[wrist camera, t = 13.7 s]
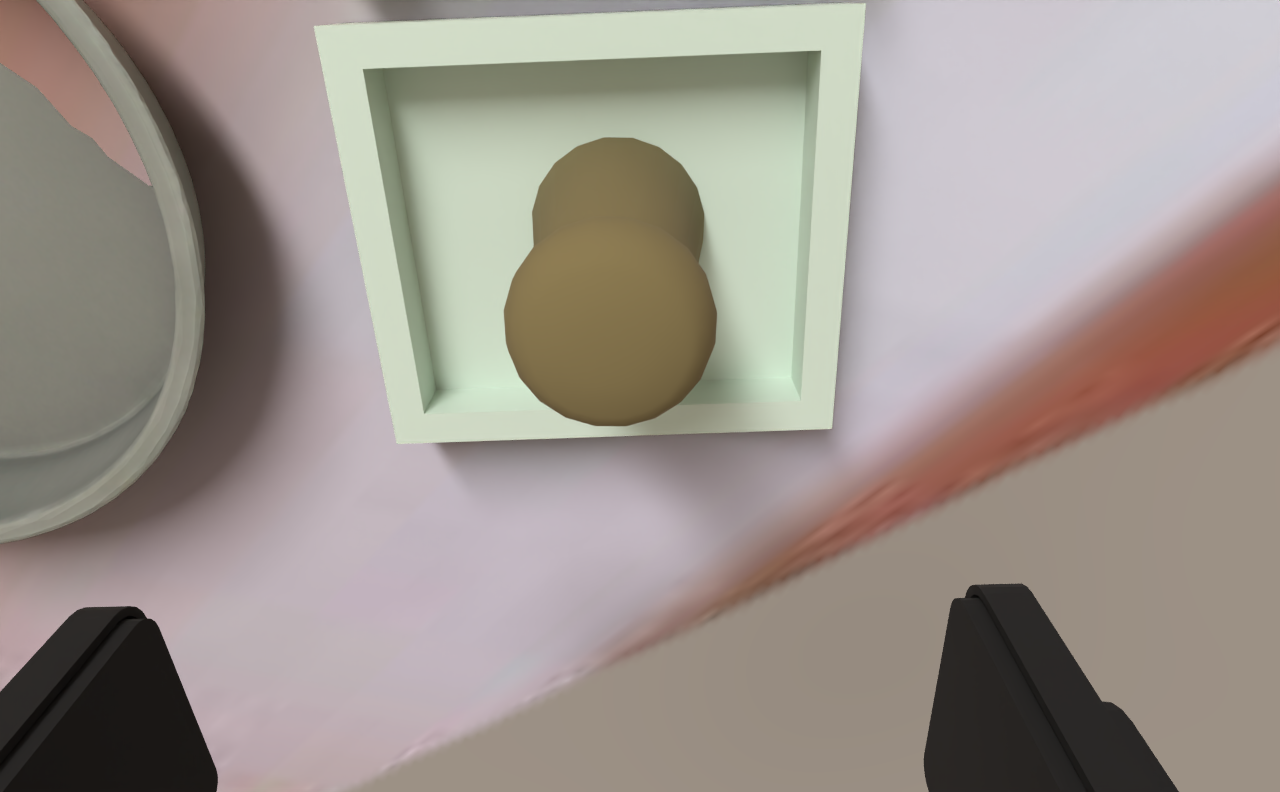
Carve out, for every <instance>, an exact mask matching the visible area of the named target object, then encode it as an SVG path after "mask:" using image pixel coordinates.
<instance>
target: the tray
mask: <svg viewBox="0 0 1280 792" xmlns="http://www.w3.org/2000/svg"><path fill="white" fill-rule="evenodd" d="M865 9H866V3H819V4H795V5H771V6H746V7H722V8H698V9H673V10H649V11H625V12H600V13H576V14H552V15H528V16H503V17H479V18H455V19H430V20H406V21H382V22H358V23H341V24H331V25H321V26H314V30H315V35H316V40H317V46H318V51H319V56H320V61H321V66H322V71H323V76H324V81H325V86H326V91H327V96H328V101H329V106H330V111H331V116H332V121H333V126H334V131H335V136H336V141H337V146H338V151H339V156H340V161H341V166H342V171H343V176H344V181H345V186H346V191H347V196H348V201H349V206H350V211H351V216H352V221H353V226H354V231H355V236H356V241H357V247H358V252H359V257H360V262H361V267H362V272H363V277H364V282H365V287H366V292H367V297H368V302H369V307H370V312H371V317H372V322H373V327H374V332H375V337H376V342H377V347H378V352H379V357H380V362H381V367H382V372H383V377H384V382H385V387H386V392H387V397H388V402H389V407H390V412H391V417H392V422H393V427H394V432H395V437H396V442H397V444H410V443H439V442H468V441H497V440H526V439H555V438H584V437H613V436H642V435H671V434H700V433H729V432H758V431H787V430H816V429H832V422H833V409H834V397H835V384H836V372H837V359H838V347H839V334H840V322H841V309H842V297H843V284H844V272H845V259H846V247H847V234H848V222H849V209H850V197H851V184H852V172H853V159H854V147H855V134H856V121H857V109H858V96H859V84H860V71H861V59H862V46H863V34H864V21H865ZM604 137H616V138H635V139H638V140H641V141H643V142H646V143H649V144H652V145H655V146H658V147H660V148H661V149H662V150H664V151H665V152H666V153H668V154H669V155H670V156H672V157H673V158H674V159H675V160H677V161H678V162H679V163H681V164H682V166H683V167H684V169H685V170H686V172H687V173H688V175H689V176H690V178H691V179H692V181H693V182H694V184H695V185H696V187H697V189H698V192H699V196H700V200H701V203H702V207H703V210H704V233H703V244H702V249H701V253H700V258H699V265H700V266H701V267H702V269H703V270H704V272H705V273H706V275H707V279H708V282H709V285H710V289H711V292H712V296H713V299H714V303H715V306H716V310H717V325H716V342H715V346H714V348H713V351H712V353H711V356H710V358H709V361H708V363H707V365H706V368H705V370H704V373H703V375H702V378H701V380H700V381H699V382H698V383H697V384H696V385H695V387H694V388H693V389H692V390H691V391H690V392H689V394H688V395H687V396H686V397H685V398H684V399H683V401H682V402H681V403H679V404H677V405H676V406H674V407H673V408H671V409H669V410H668V411H666V412H665V413H663V414H661V415H660V416H658V417H657V418H654V419H651V420H647V421H644V422H640V423H636V424H633V425H629V426H593V425H589V424H586V423H582V422H579V421H576V420H572V419H569V418H565V417H564V416H562V415H561V414H559V413H557V412H556V411H554V410H553V409H551V408H550V407H548V406H546V405H545V404H543V403H542V402H540V401H539V400H538V399H537V398H536V397H535V395H534V394H533V393H532V392H531V391H530V390H529V388H528V387H527V386H526V385H525V384H524V383H523V381H522V380H521V379H520V378H519V375H518V373H517V371H516V368H515V366H514V364H513V361H512V359H511V356H510V354H509V352H508V349H507V345H506V339H505V324H504V307H505V304H506V300H507V296H508V293H509V289H510V286H511V282H512V279H513V277H514V275H515V273H516V271H517V270H518V268H519V267H520V266H521V264H522V263H523V261H524V260H525V258H526V257H527V256H528V254H529V253H530V251H531V250H532V248H533V247H534V243H533V222H532V210H533V207H534V203H535V199H536V196H537V192H538V189H539V185H540V184H541V183H542V181H543V180H544V178H545V177H546V175H547V174H548V172H549V171H550V169H551V168H552V166H553V165H554V163H555V162H557V161H558V160H559V159H561V158H562V157H563V156H565V155H566V154H567V153H569V152H570V151H571V150H573V149H574V148H575V147H577V146H579V145H582V144H585V143H588V142H591V141H594V140H597V139H601V138H604Z"/></svg>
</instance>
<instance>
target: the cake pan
mask: <svg viewBox="0 0 1280 792" xmlns="http://www.w3.org/2000/svg"><path fill="white" fill-rule="evenodd" d="M37 2H38V3H39V4H40V5H41V6H42V7H43V8H44V9H45V11H46V12H47V13H48V14H49V15H50V16H51V17H52V18H53V20H54V21H55V22H56V23H57V25H58V26H59V27H60V29H61V30H62V31H63V32H64V34H65V35H66V36H67V37H68V39H69V40H70V41H71V43H72V44H73V45H74V46H75V48H76V49H77V51H78V52H79V53H80V55H81V56H82V57H83V59H84V60H85V61H86V63H87V64H88V66H89V67H90V68H91V70H92V71H93V72H94V74H95V76H96V77H97V79H98V80H99V82H100V84H101V85H102V87H103V88H104V90H105V91H106V93H107V95H108V96H109V98H110V99H111V101H112V102H113V104H114V106H115V108H116V110H117V111H118V113H119V115H120V117H121V119H122V121H123V123H124V125H125V127H126V128H127V130H128V132H129V134H130V136H131V138H132V140H133V143H134V145H135V147H136V149H137V151H138V153H139V155H140V157H141V160H142V162H143V164H144V166H145V169H146V171H147V174H148V176H149V179H150V181H151V184H152V186H148V185H147V184H145V183H144V182H143V181H141V180H140V179H138V178H137V177H136V176H134V175H133V174H131V173H130V172H129V171H127V170H126V169H124V168H123V167H122V166H120V165H119V164H117V163H116V162H114V161H113V160H112V159H110V158H109V157H107V155H106V154H105V153H104V152H103V151H102V149H101V148H100V147H99V146H98V145H97V143H96V142H95V141H94V140H93V139H92V138H91V137H89V136H87V135H86V134H84V133H82V132H81V131H79V130H77V129H75V128H74V127H72V126H71V125H70V124H69V123H68V122H67V121H66V120H65V119H64V118H63V116H62V115H61V114H60V113H59V112H58V111H57V110H56V109H55V107H54V106H53V105H52V104H51V103H50V102H49V101H48V100H47V99H46V97H45V96H44V95H43V94H42V93H41V92H40V91H39V90H38V89H37V88H36V87H35V86H33V85H32V84H30V83H29V82H27V81H26V80H24V79H23V78H21V77H20V76H19V75H17V74H16V73H14V72H13V71H11V70H10V69H8V68H7V67H5V66H4V65H2V64H1V63H0V544H2V543H7V542H12V541H17V540H22V539H26V538H30V537H33V536H36V535H40V534H43V533H47V532H50V531H53V530H56V529H58V528H61V527H63V526H65V525H68V524H71V523H73V522H75V521H77V520H79V519H82V518H84V517H86V516H87V515H89V514H91V513H93V512H95V511H96V510H98V509H99V508H101V507H103V506H105V505H106V504H107V503H109V502H110V501H112V500H114V499H115V498H116V497H118V496H119V495H120V494H121V493H122V492H123V491H125V490H126V489H127V488H128V487H129V486H131V485H132V484H133V483H134V482H135V481H137V479H138V478H139V477H140V476H141V475H142V474H143V473H144V472H145V471H146V470H147V469H148V468H149V467H150V466H151V465H152V464H153V463H154V461H155V460H156V459H157V458H158V456H159V455H160V453H161V452H162V450H163V449H164V447H165V446H166V444H167V443H168V441H169V440H170V438H171V437H172V436H173V434H174V433H175V431H176V430H177V427H178V425H179V423H180V421H181V419H182V417H183V415H184V414H185V412H186V408H187V407H188V402H189V400H190V397H191V395H192V392H193V389H194V384H195V379H196V376H197V372H198V369H199V365H200V359H201V352H202V347H203V335H204V323H205V295H204V285H205V248H204V237H203V229H202V223H201V217H200V212H199V206H198V202H197V198H196V194H195V190H194V187H193V183H192V180H191V177H190V174H189V171H188V168H187V165H186V162H185V159H184V156H183V154H182V151H181V149H180V147H179V144H178V142H177V140H176V137H175V135H174V133H173V130H172V128H171V126H170V124H169V122H168V120H167V118H166V116H165V114H164V112H163V111H162V109H161V107H160V105H159V103H158V101H157V99H156V97H155V95H154V94H153V92H152V90H151V89H150V87H149V86H148V84H147V82H146V81H145V79H144V78H143V76H142V75H141V73H140V72H139V70H138V69H137V67H136V66H135V64H134V63H133V61H132V60H131V58H130V57H129V55H128V54H127V53H126V51H125V50H124V49H123V47H122V46H121V45H120V43H119V42H118V41H117V39H116V38H115V37H114V36H113V34H112V33H111V32H110V31H109V30H108V28H107V27H106V26H105V25H104V24H103V22H102V21H101V20H100V19H99V18H98V17H97V15H96V14H95V13H94V12H93V11H92V10H91V9H90V8H89V7H88V5H87V4H86V3H85V2H84V1H83V0H37Z"/></svg>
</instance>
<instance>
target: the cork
mask: <svg viewBox="0 0 1280 792" xmlns="http://www.w3.org/2000/svg"><path fill="white" fill-rule="evenodd" d="M532 222H533V243H534V247H533V248H532V250H531V251H530V253H529V254H528V256H527V257H526V258H525V260H524V261H523V263H522V264H521V266H520V267H519V268H518V270H517V271H516V273H515V275H514V277H513V279H512V282H511V286H510V289H509V293H508V296H507V300H506V304H505V307H504V324H505V339H506V345H507V349H508V352H509V354H510V356H511V359H512V361H513V364H514V366H515V368H516V371H517V373H518V375H519V378H520V379H521V380H522V381H523V383H524V384H525V385H526V386H527V387H528V388H529V390H530V391H531V392H532V393H533V394H534V395H535V397H536V398H537V399H538V400H539V401H540V402H542V403H543V404H545V405H546V406H548V407H550V408H551V409H553V410H554V411H556V412H557V413H559V414H561V415H562V416H564V417H565V418H569V419H572V420H576V421H579V422H582V423H586V424H589V425H593V426H629V425H633V424H636V423H640V422H644V421H647V420H651V419H654V418H657V417H658V416H660V415H661V414H663V413H665V412H666V411H668V410H669V409H671V408H673V407H674V406H676V405H677V404H679V403H681V402H682V401H683V399H684V398H685V397H686V396H687V395H688V394H689V392H690V391H691V390H692V389H693V388H694V387H695V385H696V384H697V383H698V382H699V381H700V380H701V378H702V375H703V373H704V370H705V368H706V365H707V363H708V361H709V358H710V356H711V353H712V351H713V348H714V346H715V342H716V325H717V310H716V306H715V303H714V299H713V296H712V292H711V289H710V285H709V282H708V279H707V275H706V273H705V272H704V270H703V269H702V267H701V266H700V265H699V258H700V253H701V249H702V244H703V233H704V210H703V207H702V203H701V200H700V196H699V192H698V189H697V187H696V185H695V184H694V182H693V181H692V179H691V178H690V176H689V175H688V173H687V172H686V170H685V169H684V167H683V166H682V164H681V163H679V162H678V161H677V160H675V159H674V158H673V157H672V156H670V155H669V154H668V153H666V152H665V151H664V150H662V149H661V148H660V147H658V146H655V145H652V144H649V143H646V142H643V141H641V140H638V139H635V138H616V137H604V138H601V139H597V140H594V141H591V142H588V143H585V144H582V145H579V146H577V147H575V148H574V149H573V150H571V151H570V152H569V153H567V154H566V155H565V156H563V157H562V158H561V159H559V160H558V161H557V162H555V163H554V165H553V166H552V168H551V169H550V171H549V172H548V174H547V175H546V177H545V178H544V180H543V181H542V183H541V184H540V185H539V189H538V192H537V196H536V199H535V203H534V207H533V210H532Z"/></svg>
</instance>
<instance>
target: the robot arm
mask: <svg viewBox="0 0 1280 792" xmlns="http://www.w3.org/2000/svg"><path fill="white" fill-rule="evenodd" d="M924 771H925V778H926V783H927V787H928V790H929V792H1179V791H1178V790H1177V788H1176V787H1175V785H1174V784H1173V782H1172V781H1171V779H1170V778H1169V776H1168V775H1167V773H1166V772H1165V771H1164V769H1163V767H1162V766H1161V764H1160V763H1159V762H1158V760H1157V758H1156V757H1155V756H1154V754H1153V752H1152V751H1151V749H1150V748H1149V746H1148V745H1147V743H1146V742H1145V740H1144V739H1143V737H1142V736H1141V734H1140V733H1139V731H1138V730H1137V729H1136V727H1135V725H1134V724H1133V722H1132V721H1131V720H1130V719H1129V718H1128V716H1127V715H1126V714H1125V713H1124V711H1123V710H1122V709H1120V708H1119V707H1117V706H1116V705H1114V704H1113V703H1111V702H1102V701H1101V700H1100V698H1099V696H1098V695H1097V693H1096V692H1095V690H1094V689H1093V687H1092V685H1091V684H1090V682H1089V681H1088V679H1087V678H1086V676H1085V675H1084V673H1083V672H1082V670H1081V668H1080V667H1079V665H1078V664H1077V662H1076V661H1075V659H1074V657H1073V656H1072V655H1071V653H1070V651H1069V650H1068V648H1067V647H1066V645H1065V643H1064V642H1063V640H1062V639H1061V637H1060V636H1059V634H1058V632H1057V631H1056V629H1055V628H1054V626H1053V625H1052V623H1051V622H1050V620H1049V618H1048V617H1047V615H1046V614H1045V612H1044V611H1043V609H1042V608H1041V606H1040V604H1039V603H1038V601H1037V600H1036V598H1035V597H1034V595H1033V593H1032V592H1031V591H1030V590H1029V589H1028V587H1027V586H1025V585H1023V584H989V585H972V586H970V587H969V589H968V590H967V593H966V596H965V598H956V599H954V600H953V601H952V604H951V608H950V613H949V619H948V624H947V630H946V636H945V642H944V647H943V652H942V658H941V664H940V669H939V675H938V681H937V686H936V692H935V697H934V703H933V708H932V714H931V720H930V726H929V731H928V737H927V743H926V748H925V753H924ZM217 784H218V775H217V771H216V768H215V765H214V763H213V760H212V758H211V755H210V753H209V750H208V748H207V745H206V743H205V740H204V738H203V735H202V733H201V730H200V728H199V725H198V723H197V721H196V718H195V716H194V713H193V711H192V708H191V706H190V703H189V701H188V698H187V696H186V693H185V691H184V688H183V686H182V683H181V681H180V679H179V676H178V674H177V671H176V669H175V666H174V664H173V661H172V659H171V656H170V654H169V651H168V649H167V646H166V644H165V641H164V639H163V636H162V634H161V632H160V629H159V627H158V625H157V624H156V622H155V621H153V620H152V619H147V618H146V616H145V615H144V613H143V611H141V610H140V609H138V608H137V607H131V606H125V607H86V608H82V609H80V610H77V611H76V612H74V613H73V614H72V615H71V616H70V617H68V619H67V620H66V621H65V622H64V623H63V624H62V625H61V626H60V627H59V628H58V629H57V631H56V632H55V633H54V634H53V635H52V636H51V637H50V638H49V639H48V640H47V641H46V643H45V644H44V645H43V646H42V647H41V648H40V649H39V650H38V651H37V652H36V653H35V655H34V656H33V657H32V658H31V659H30V660H29V661H28V662H27V663H26V664H25V665H24V667H23V668H22V669H21V670H20V671H19V672H18V673H17V674H16V675H15V676H14V677H13V679H12V680H11V681H10V682H9V683H8V684H7V685H6V686H5V687H4V688H3V689H2V691H1V692H0V792H216V791H217Z"/></svg>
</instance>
